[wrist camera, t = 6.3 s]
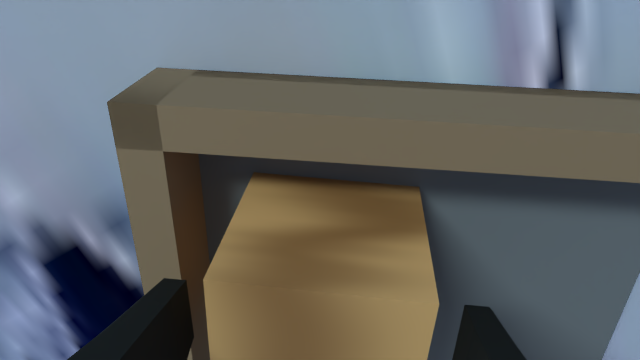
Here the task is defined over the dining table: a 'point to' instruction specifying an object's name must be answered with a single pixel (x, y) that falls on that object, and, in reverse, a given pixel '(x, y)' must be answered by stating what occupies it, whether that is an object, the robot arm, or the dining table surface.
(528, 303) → the arena
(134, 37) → the dining table surface
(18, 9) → the dining table surface
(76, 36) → the dining table surface
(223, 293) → the block
